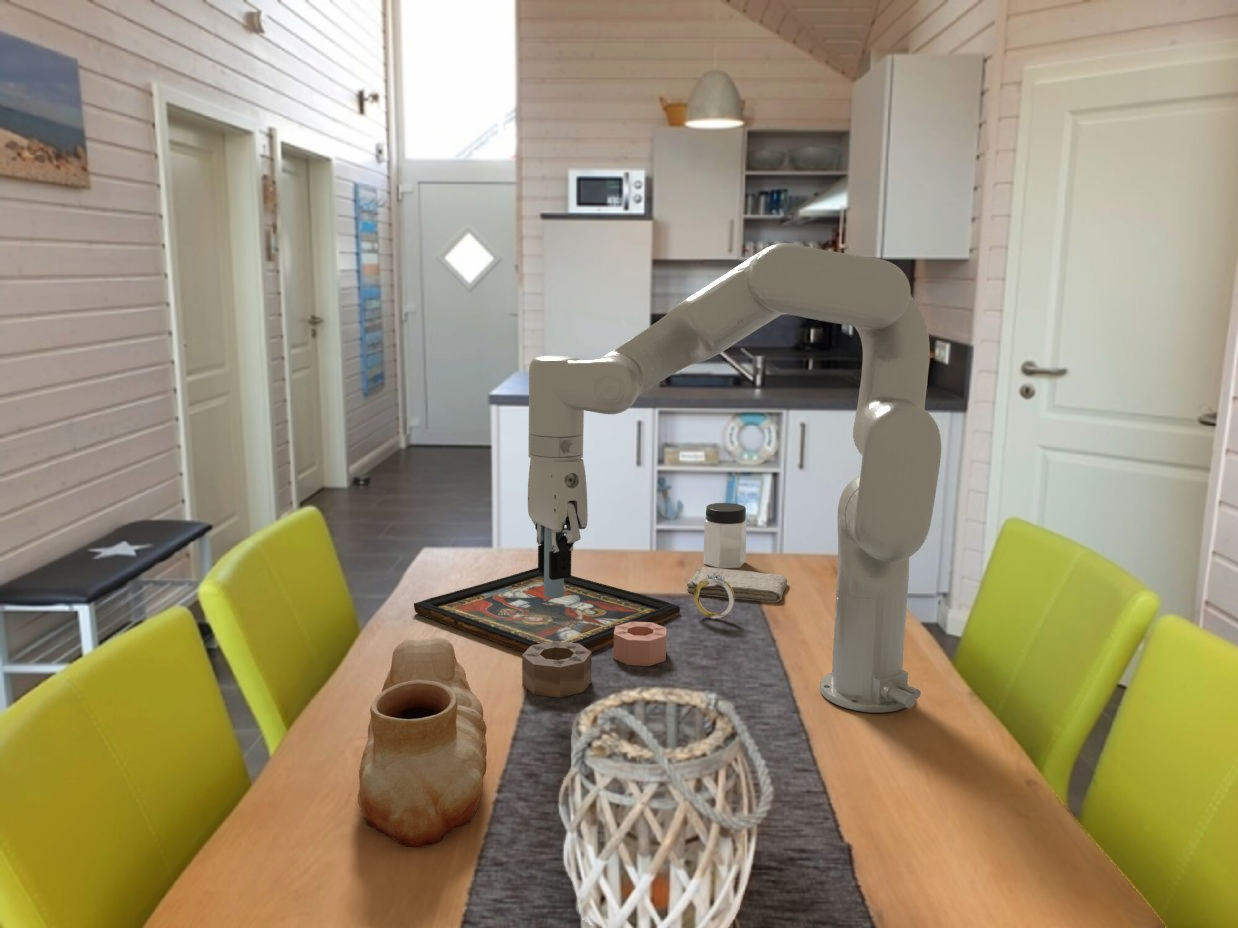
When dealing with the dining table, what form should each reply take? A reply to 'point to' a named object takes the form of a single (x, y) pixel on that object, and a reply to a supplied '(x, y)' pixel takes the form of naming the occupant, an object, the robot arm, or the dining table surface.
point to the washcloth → (741, 584)
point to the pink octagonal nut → (640, 643)
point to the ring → (714, 580)
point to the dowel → (550, 586)
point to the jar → (725, 535)
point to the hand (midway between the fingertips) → (554, 573)
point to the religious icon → (544, 611)
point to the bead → (556, 669)
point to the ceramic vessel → (423, 747)
